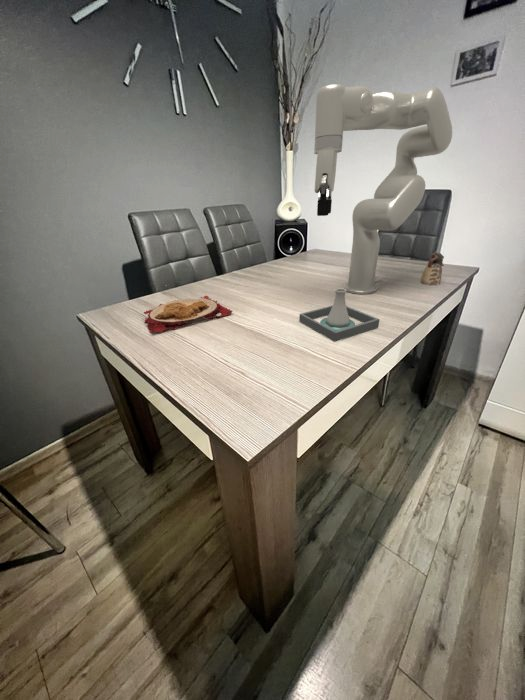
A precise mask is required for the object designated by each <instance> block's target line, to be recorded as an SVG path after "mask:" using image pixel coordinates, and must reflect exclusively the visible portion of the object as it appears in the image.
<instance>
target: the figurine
mask: <svg viewBox="0 0 525 700" xmlns="http://www.w3.org/2000/svg"><path fill="white" fill-rule="evenodd" d="M431 256H432V257H431V258H429V260H428V263H427V265H426V267H425V268H424V270H423V272H422V275H421V278H420V282H422V283H421V284H423V283H424V284H423V285H426V284H430V285H429V286H438V285H437V284H439V285H440V284H441V281H442V276H443V275H442V272H443V268H442V267H444V265H445V264H444V262H443V261H444V258H445V256H444V255H443V254H442V253H441V252H433V253H431Z"/></svg>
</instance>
